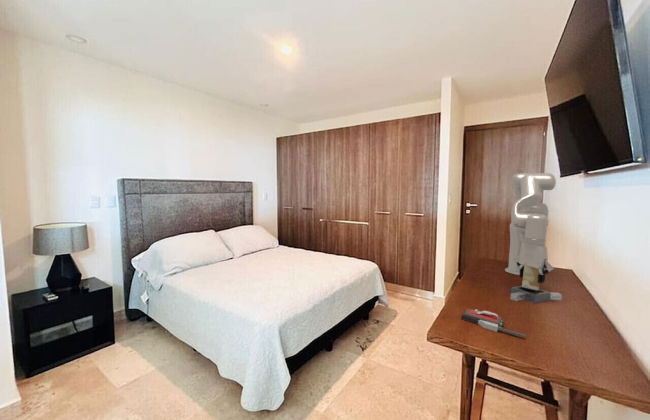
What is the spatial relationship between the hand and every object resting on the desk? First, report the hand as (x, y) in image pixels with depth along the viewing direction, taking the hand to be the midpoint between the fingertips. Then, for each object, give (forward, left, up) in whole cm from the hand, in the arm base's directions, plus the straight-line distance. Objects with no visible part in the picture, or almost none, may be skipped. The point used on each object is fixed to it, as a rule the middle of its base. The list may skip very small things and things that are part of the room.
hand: (531, 279), depth 126 cm
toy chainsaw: (+42, +13, -9) cm, 45 cm away
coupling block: (0, 0, -8) cm, 8 cm away
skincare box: (0, 0, -4) cm, 4 cm away
